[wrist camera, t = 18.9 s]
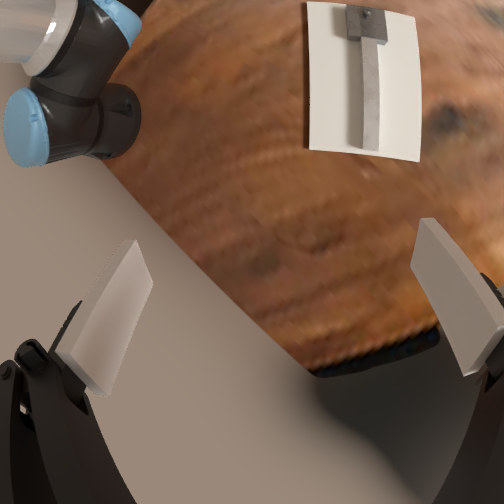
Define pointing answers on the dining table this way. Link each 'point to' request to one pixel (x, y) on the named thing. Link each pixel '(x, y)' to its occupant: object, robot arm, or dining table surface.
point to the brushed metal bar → (368, 66)
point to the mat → (349, 85)
